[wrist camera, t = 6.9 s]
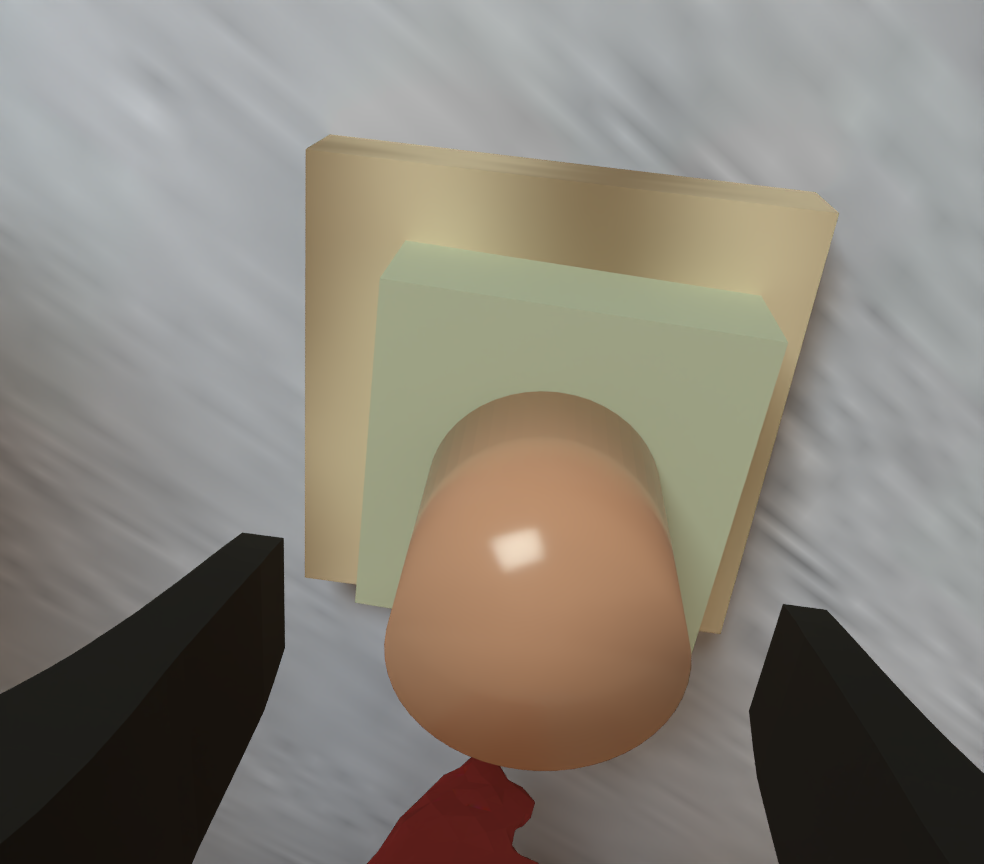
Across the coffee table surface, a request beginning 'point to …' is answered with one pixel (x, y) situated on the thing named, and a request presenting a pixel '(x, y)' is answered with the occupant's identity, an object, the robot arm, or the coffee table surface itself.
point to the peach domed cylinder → (540, 589)
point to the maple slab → (534, 236)
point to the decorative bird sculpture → (461, 821)
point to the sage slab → (565, 387)
